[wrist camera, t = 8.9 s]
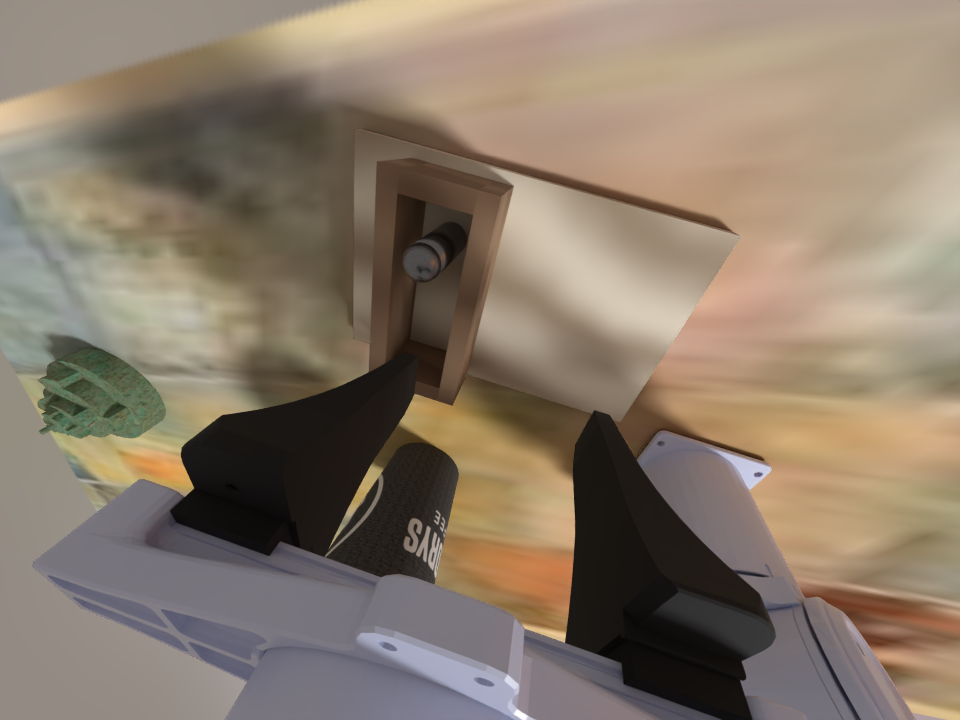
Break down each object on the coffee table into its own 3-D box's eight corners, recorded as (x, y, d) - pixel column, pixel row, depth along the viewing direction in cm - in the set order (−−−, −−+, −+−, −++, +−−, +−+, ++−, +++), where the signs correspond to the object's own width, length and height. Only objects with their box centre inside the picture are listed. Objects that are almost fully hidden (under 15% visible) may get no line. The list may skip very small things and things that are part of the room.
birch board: (618, 413, 25) (620, 423, 24) (360, 332, 26) (353, 338, 25) (732, 231, 17) (741, 236, 16) (363, 129, 18) (354, 128, 18)
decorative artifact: (132, 351, 33) (57, 343, 35) (41, 395, 28) (-43, 382, 29) (183, 427, 39) (115, 416, 41) (115, 477, 33) (40, 461, 35)
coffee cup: (429, 509, 36) (358, 698, 24) (361, 454, 34) (242, 633, 21) (495, 481, 32) (448, 699, 19) (421, 414, 29) (312, 616, 17)
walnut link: (468, 369, 24) (452, 405, 21) (395, 346, 24) (368, 378, 21) (514, 186, 17) (501, 196, 14) (412, 157, 18) (376, 161, 14)
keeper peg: (463, 258, 20) (431, 293, 15) (434, 249, 20) (394, 281, 15) (469, 226, 19) (437, 254, 14) (438, 218, 19) (397, 242, 14)
